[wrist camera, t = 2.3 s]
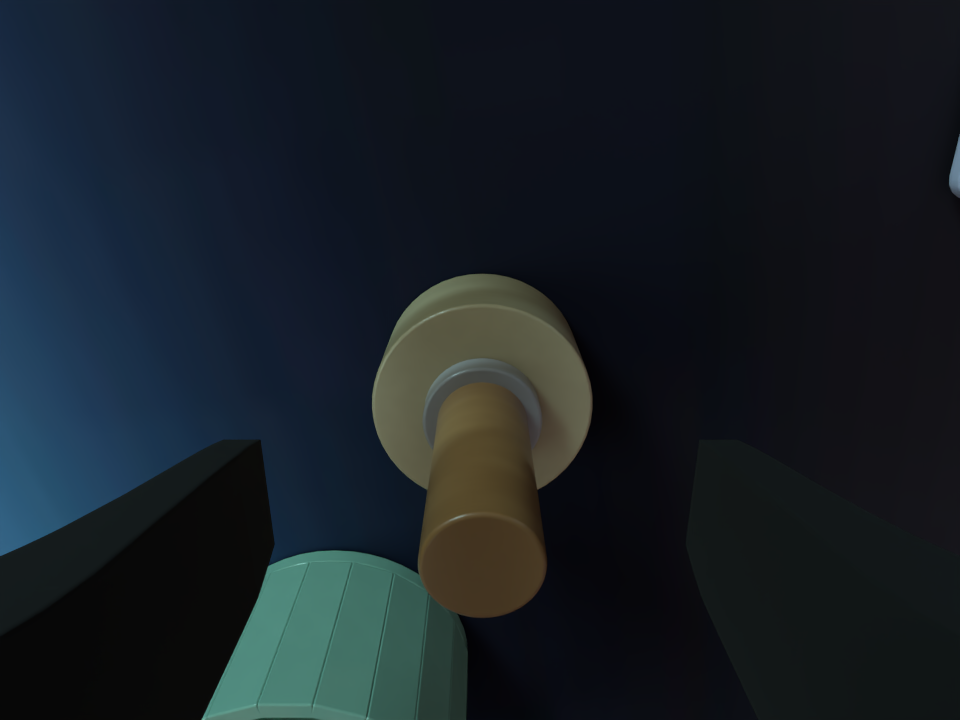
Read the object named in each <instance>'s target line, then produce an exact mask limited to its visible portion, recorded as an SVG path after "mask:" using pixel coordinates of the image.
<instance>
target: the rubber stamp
mask: <svg viewBox="0 0 960 720" xmlns="http://www.w3.org/2000/svg"><path fill="white" fill-rule="evenodd" d="M372 411H373V418H374V423H375V427H376V430H377V434H378V436H379V438H380V441H381V443H382V445H383V447H384V449H385V450H386V452H387V454H388V455H389V457H390V458H391V459H392V461H393V462H394V463H395V464H396V466H397V467H398V468H399V469H400V470H401V471H402V472H403V473H404V474H405V475H406V476H407V477H409V478H410V479H411V480H413V481H414V482H415V483H417V484H418V485H420V486H422V487H423V488H425V489H427V497H426V505H425V512H424V519H423V526H422V533H421V541H420V548H419V555H418V571H419V575H420V579H421V581H422V583H423V585H424V587H425V589H426V590H427V592H428V593H429V594H430V596H431V597H432V598H433V599H434V600H435V601H436V602H438V603H439V604H440V605H442V606H443V607H445V608H446V609H448V610H450V611H452V612H455V613H457V614H460V615H464V616H468V617H475V618H490V617H497V616H501V615H505V614H508V613H510V612H513V611H515V610H517V609H519V608H521V607H522V606H523V605H525V604H526V603H528V602H529V601H530V600H531V599H532V598H533V597H534V596H535V594H536V593H537V592H538V590H539V589H540V587H541V585H542V583H543V581H544V579H545V575H546V571H547V555H546V548H545V541H544V534H543V527H542V520H541V513H540V506H539V498H538V491H537V490H538V489H540V488H541V487H543V486H545V485H547V484H548V483H549V482H551V481H552V480H553V479H555V478H556V477H557V476H558V475H559V474H560V473H562V472H563V471H564V470H565V469H566V468H567V466H568V465H569V464H570V463H571V462H572V460H573V459H574V458H575V456H576V455H577V453H578V452H579V450H580V448H581V447H582V445H583V442H584V440H585V438H586V436H587V433H588V429H589V426H590V422H591V416H592V390H591V384H590V380H589V377H588V373H587V370H586V367H585V365H584V362H583V360H582V357H581V354H580V352H579V349H578V347H577V344H576V341H575V339H574V336H573V334H572V331H571V329H570V327H569V325H568V323H567V321H566V319H565V318H564V316H563V315H562V313H561V312H560V310H559V309H558V308H557V307H556V306H555V305H554V304H553V302H552V301H550V300H549V299H548V298H547V297H546V296H545V295H544V294H542V293H541V292H539V291H538V290H536V289H535V288H533V287H531V286H529V285H527V284H525V283H523V282H521V281H518V280H515V279H512V278H509V277H505V276H500V275H493V274H471V275H465V276H460V277H455V278H452V279H449V280H446V281H443V282H441V283H439V284H437V285H435V286H433V287H431V288H430V289H428V290H427V291H425V292H424V293H422V294H421V295H420V296H419V297H418V298H417V299H415V300H414V301H413V302H412V303H411V304H410V305H409V307H408V308H407V309H406V310H405V311H404V313H403V314H402V316H401V317H400V319H399V320H398V322H397V324H396V326H395V328H394V330H393V333H392V335H391V338H390V340H389V343H388V346H387V348H386V351H385V354H384V356H383V359H382V361H381V364H380V367H379V369H378V373H377V376H376V379H375V382H374V388H373V395H372Z"/></svg>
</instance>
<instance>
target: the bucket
mask: <svg viewBox="0 0 960 720" xmlns="http://www.w3.org/2000/svg"><path fill="white" fill-rule="evenodd" d="M467 698H468V646H467V639H466V635H465V631H464V628H463V625H462V623H461V621H460V619H459V616H458V614H457V613H455V612H452V611H450V610H448V609H446V608H445V607H443V606H442V605H440V604H439V603H438V602H436V601H435V600H434V599H433V598H432V597H431V596H430V594H429V593H428V592H427V590H426V589H425V587H424V585H423V583H422V581H421V579H420V575H419V574H418V573H416V572H414V571H412V570H410V569H409V568H407V567H405V566H403V565H401V564H398V563H396V562H393V561H391V560H388V559H386V558H382V557H378V556H375V555H371V554H366V553H360V552H354V551H339V550H331V551H316V552H310V553H304V554H300V555H296V556H293V557H289V558H286V559H283V560H281V561H279V562H276V563H274V564H272V565H270V566H268V568H267V572H266V575H265V578H264V581H263V585H262V588H261V591H260V594H259V597H258V599H257V602H256V604H255V606H254V608H253V611H252V613H251V615H250V617H249V620H248V622H247V624H246V626H245V628H244V630H243V633H242V635H241V637H240V639H239V641H238V643H237V646H236V648H235V650H234V652H233V654H232V656H231V658H230V660H229V663H228V665H227V667H226V669H225V671H224V673H223V675H222V678H221V680H220V682H219V684H218V686H217V688H216V690H215V692H214V695H213V697H212V699H211V701H210V703H209V705H208V707H207V710H206V712H205V714H204V716H203V718H202V720H467Z"/></svg>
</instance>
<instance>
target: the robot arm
mask: <svg viewBox="0 0 960 720" xmlns="http://www.w3.org/2000/svg"><path fill="white" fill-rule="evenodd" d="M949 186H950V188H951V191H952V193H953V194H955V195H956V196H957V197H958V198H960V136H959V140H958V144H957V148H956V152H955V156H954V160H953V164H952V168H951V172H950V177H949ZM685 544H686V548H687V551H688V555H689V558H690V562H691V565H692V568H693V572H694V575H695V578H696V581H697V585H698V588H699V591H700V594H701V597H702V599H703V602H704V604H705V606H706V609H707V611H708V613H709V615H710V617H711V620H712V622H713V624H714V626H715V628H716V630H717V633H718V635H719V637H720V639H721V641H722V643H723V646H724V648H725V650H726V652H727V654H728V656H729V658H730V661H731V663H732V665H733V667H734V669H735V671H736V673H737V675H738V678H739V680H740V682H741V684H742V686H743V688H744V690H745V692H746V695H747V697H748V699H749V701H750V703H751V705H752V707H753V710H754V712H755V714H756V716H757V718H758V720H960V556H959V555H956V554H954V553H952V552H949V551H947V550H945V549H942V548H940V547H938V546H936V545H934V544H931V543H929V542H927V541H925V540H923V539H921V538H919V537H916V536H914V535H912V534H910V533H908V532H906V531H904V530H902V529H900V528H898V527H897V526H895V525H893V524H891V523H889V522H887V521H885V520H883V519H881V518H879V517H877V516H875V515H873V514H871V513H869V512H867V511H865V510H864V509H862V508H860V507H858V506H856V505H854V504H852V503H851V502H849V501H847V500H845V499H843V498H842V497H840V496H838V495H836V494H834V493H833V492H831V491H829V490H827V489H826V488H824V487H822V486H820V485H819V484H817V483H815V482H813V481H812V480H810V479H808V478H807V477H805V476H803V475H801V474H800V473H798V472H796V471H794V470H793V469H791V468H789V467H788V466H786V465H784V464H782V463H781V462H779V461H777V460H775V459H774V458H772V457H770V456H768V455H767V454H765V453H763V452H761V451H759V450H757V449H756V448H754V447H752V446H750V445H748V444H746V443H743V442H741V441H739V440H699V447H698V455H697V462H696V470H695V477H694V484H693V492H692V499H691V507H690V514H689V521H688V529H687V536H686V543H685ZM273 548H274V536H273V529H272V521H271V514H270V507H269V499H268V492H267V484H266V477H265V470H264V462H263V455H262V448H261V440H222V441H220V442H217V443H215V444H213V445H211V446H209V447H207V448H205V449H203V450H201V451H199V452H197V453H196V454H194V455H192V456H190V457H188V458H187V459H185V460H183V461H181V462H180V463H178V464H176V465H175V466H173V467H171V468H169V469H168V470H166V471H164V472H162V473H161V474H159V475H157V476H156V477H154V478H152V479H150V480H149V481H147V482H145V483H143V484H142V485H140V486H138V487H136V488H135V489H133V490H131V491H130V492H128V493H126V494H124V495H122V496H121V497H119V498H117V499H115V500H113V501H111V502H109V503H108V504H106V505H104V506H102V507H100V508H98V509H96V510H94V511H92V512H91V513H89V514H87V515H85V516H83V517H81V518H79V519H77V520H76V521H74V522H72V523H70V524H68V525H66V526H64V527H62V528H60V529H58V530H56V531H54V532H52V533H50V534H48V535H46V536H44V537H42V538H40V539H38V540H36V541H33V542H31V543H29V544H27V545H25V546H23V547H20V548H18V549H16V550H14V551H11V552H9V553H7V554H5V555H2V556H0V720H202V718H203V716H204V714H205V712H206V710H207V707H208V705H209V703H210V701H211V699H212V697H213V695H214V692H215V690H216V688H217V686H218V684H219V682H220V680H221V678H222V675H223V673H224V671H225V669H226V667H227V665H228V663H229V660H230V658H231V656H232V654H233V652H234V650H235V648H236V646H237V643H238V641H239V639H240V637H241V635H242V633H243V630H244V628H245V626H246V624H247V622H248V620H249V617H250V615H251V613H252V611H253V608H254V606H255V604H256V602H257V599H258V597H259V594H260V591H261V588H262V585H263V581H264V578H265V575H266V572H267V568H268V565H269V562H270V558H271V555H272V551H273Z"/></svg>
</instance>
